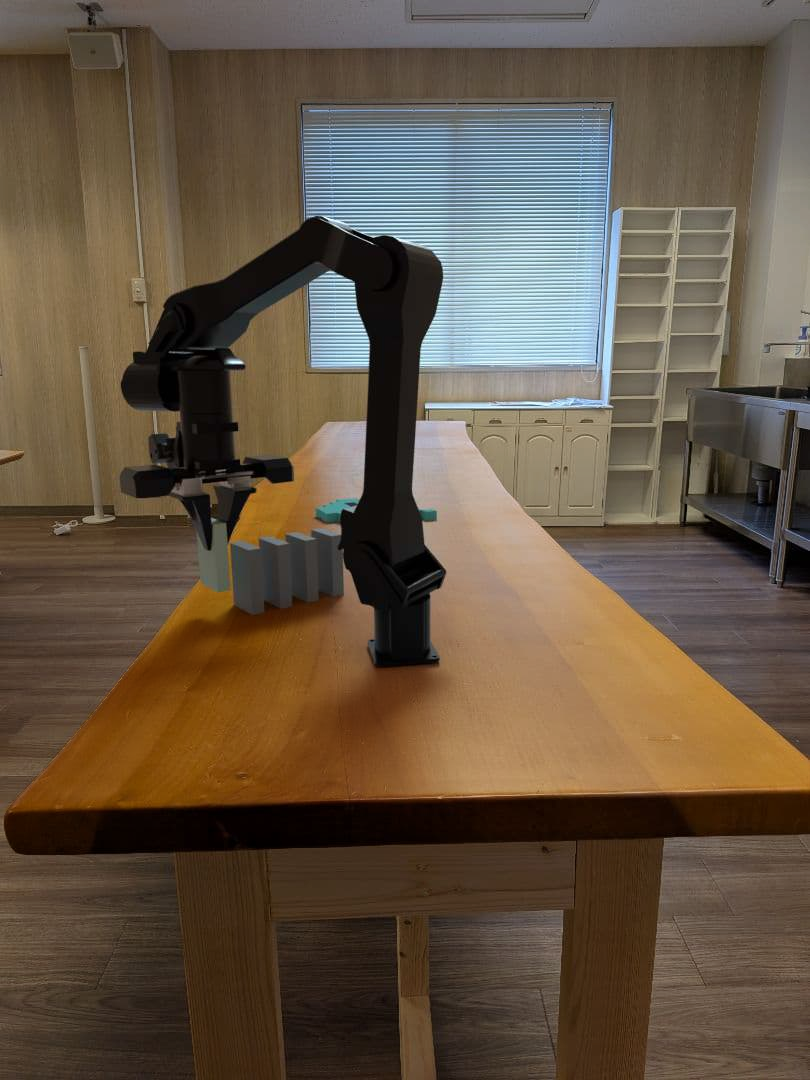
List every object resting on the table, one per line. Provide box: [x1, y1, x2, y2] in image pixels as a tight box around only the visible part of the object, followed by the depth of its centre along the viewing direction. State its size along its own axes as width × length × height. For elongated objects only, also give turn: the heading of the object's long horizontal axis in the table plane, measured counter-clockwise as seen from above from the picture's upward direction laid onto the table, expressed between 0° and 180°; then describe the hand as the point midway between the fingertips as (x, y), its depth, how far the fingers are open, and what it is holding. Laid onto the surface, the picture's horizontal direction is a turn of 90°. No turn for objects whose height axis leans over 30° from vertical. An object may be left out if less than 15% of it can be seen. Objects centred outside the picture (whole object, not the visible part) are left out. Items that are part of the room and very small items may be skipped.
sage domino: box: [196, 517, 232, 593], centre depth 86 cm, size 2×5×8 cm, turn 38°
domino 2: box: [258, 535, 293, 610], centre depth 90 cm, size 2×5×8 cm, turn 38°
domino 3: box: [284, 531, 320, 604], centre depth 93 cm, size 2×5×8 cm, turn 38°
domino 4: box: [310, 527, 345, 598], centre depth 95 cm, size 2×5×8 cm, turn 38°
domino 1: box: [229, 540, 265, 616], centre depth 88 cm, size 2×5×8 cm, turn 38°
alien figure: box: [315, 497, 438, 523], centre depth 145 cm, size 20×2×20 cm
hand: (215, 548), depth 85 cm, fingers closed on sage domino, 2 cm apart
